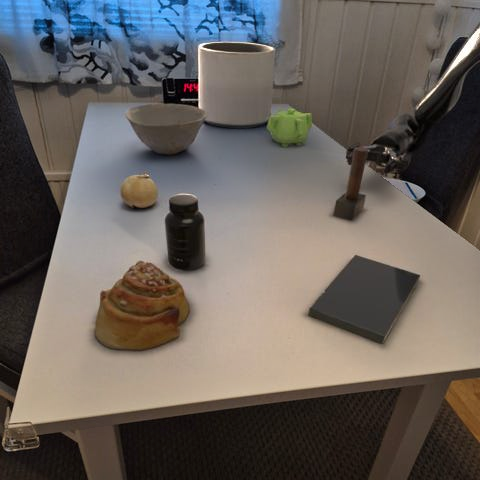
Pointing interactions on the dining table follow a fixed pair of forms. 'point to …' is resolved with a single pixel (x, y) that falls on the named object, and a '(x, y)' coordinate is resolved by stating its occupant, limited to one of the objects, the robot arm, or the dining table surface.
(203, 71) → the planter
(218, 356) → the dining table surface
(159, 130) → the ceramic bowl
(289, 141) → the teapot
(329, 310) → the slate board
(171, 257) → the supplement bottle
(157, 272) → the pastry
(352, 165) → the wooden mallet
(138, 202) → the onion
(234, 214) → the dining table surface
